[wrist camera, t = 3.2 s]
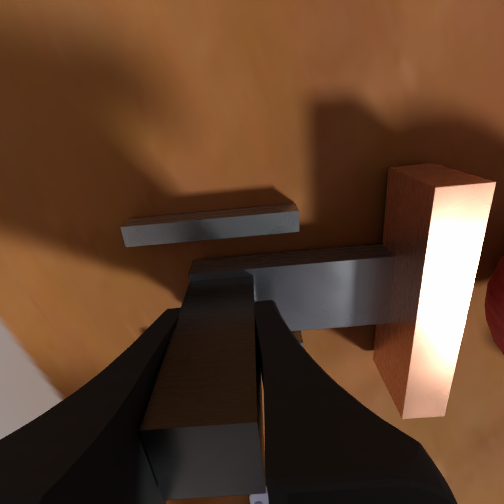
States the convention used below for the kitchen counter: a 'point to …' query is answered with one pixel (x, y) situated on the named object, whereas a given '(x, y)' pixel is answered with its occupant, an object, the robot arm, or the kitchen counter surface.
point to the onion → (496, 304)
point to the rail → (212, 227)
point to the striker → (317, 317)
